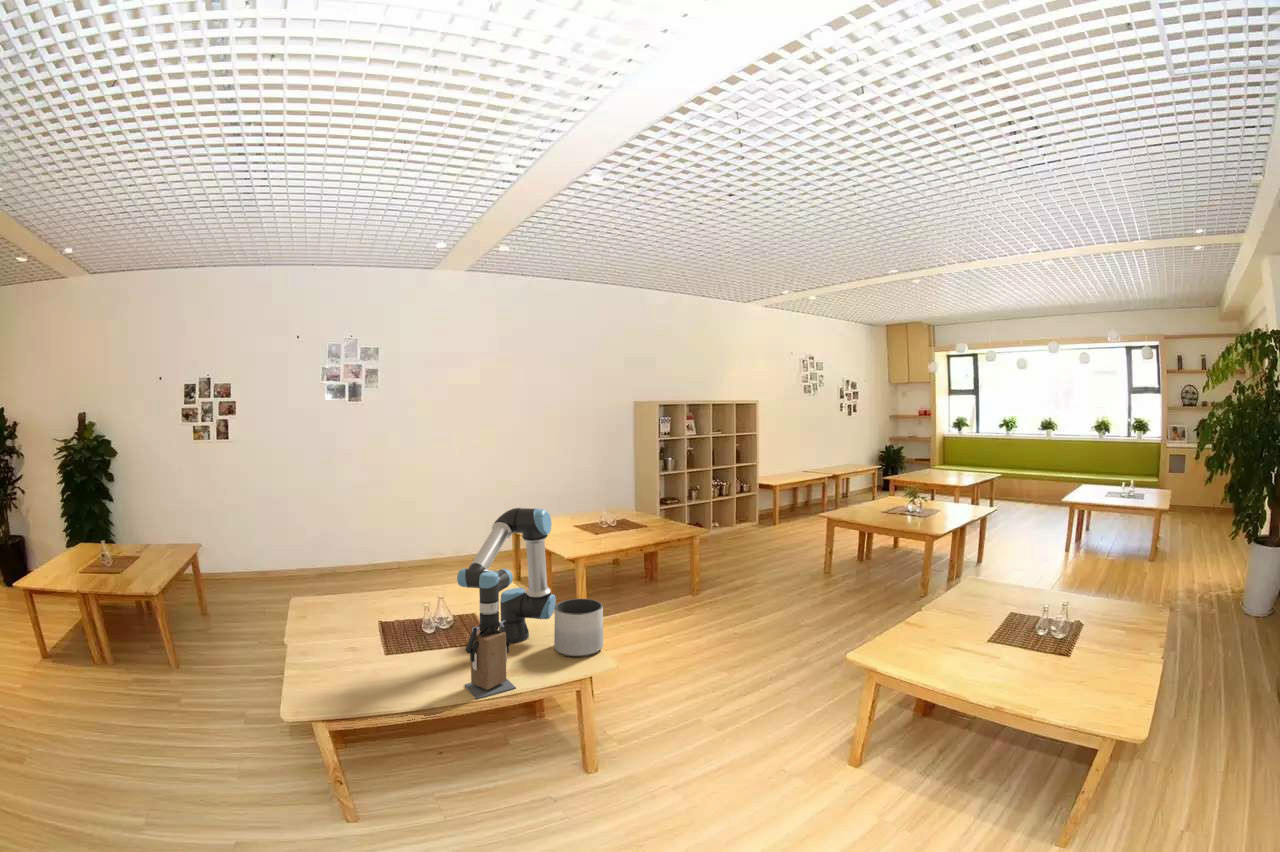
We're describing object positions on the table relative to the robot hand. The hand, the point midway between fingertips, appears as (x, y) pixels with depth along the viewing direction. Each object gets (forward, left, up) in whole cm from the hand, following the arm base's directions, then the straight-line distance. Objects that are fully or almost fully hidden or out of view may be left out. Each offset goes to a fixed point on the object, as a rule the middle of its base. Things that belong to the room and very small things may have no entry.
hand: (489, 665), depth 245 cm
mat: (0, 0, -9) cm, 9 cm away
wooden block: (-1, 0, -7) cm, 7 cm away
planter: (-14, +48, -9) cm, 51 cm away
